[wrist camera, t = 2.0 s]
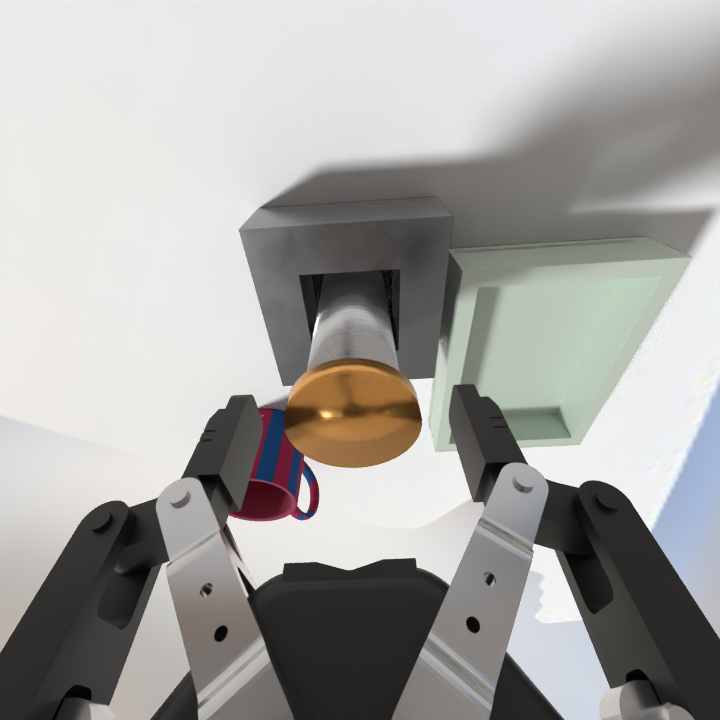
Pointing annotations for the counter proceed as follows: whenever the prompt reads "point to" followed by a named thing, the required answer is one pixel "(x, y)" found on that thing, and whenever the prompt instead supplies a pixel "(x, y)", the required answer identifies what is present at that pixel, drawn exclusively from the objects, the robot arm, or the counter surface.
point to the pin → (352, 380)
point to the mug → (277, 476)
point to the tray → (547, 330)
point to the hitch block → (351, 254)
